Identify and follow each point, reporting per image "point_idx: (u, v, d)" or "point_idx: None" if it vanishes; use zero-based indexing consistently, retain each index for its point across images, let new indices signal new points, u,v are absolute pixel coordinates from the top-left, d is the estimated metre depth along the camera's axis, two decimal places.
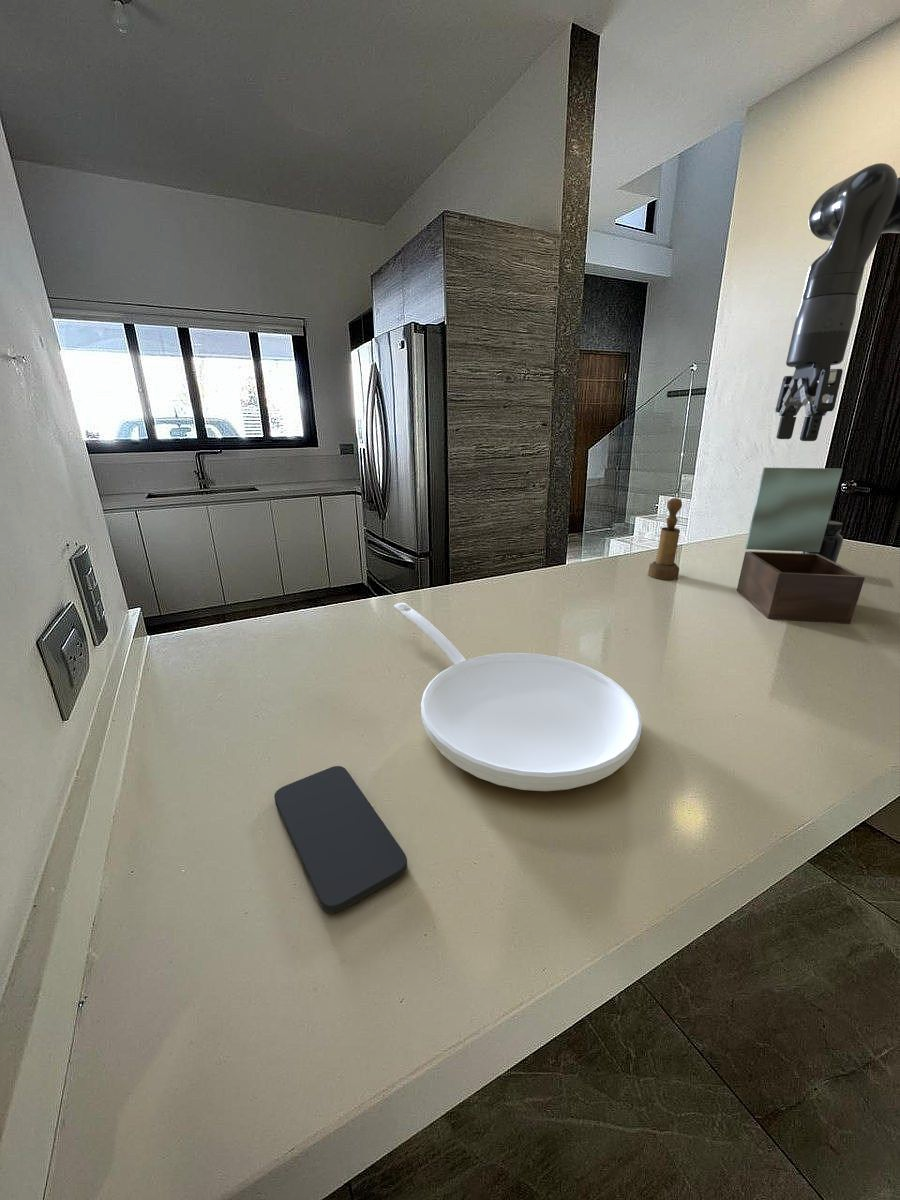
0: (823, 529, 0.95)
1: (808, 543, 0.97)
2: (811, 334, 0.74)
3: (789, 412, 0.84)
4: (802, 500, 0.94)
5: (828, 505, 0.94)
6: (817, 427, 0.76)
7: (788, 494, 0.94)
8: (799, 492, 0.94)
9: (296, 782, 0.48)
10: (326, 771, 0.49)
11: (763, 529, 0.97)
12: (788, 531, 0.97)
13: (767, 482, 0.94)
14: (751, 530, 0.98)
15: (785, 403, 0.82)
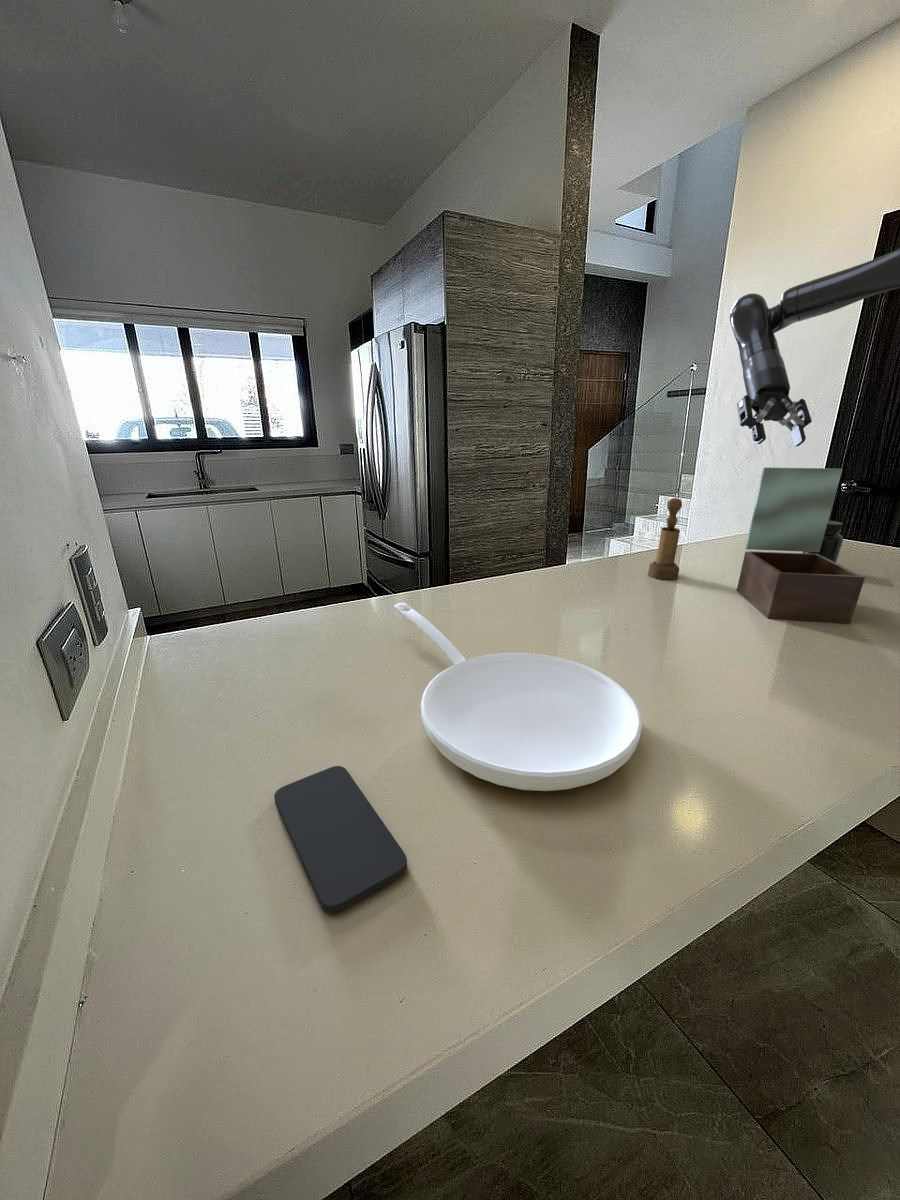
0: (823, 529, 0.95)
1: (808, 543, 0.97)
2: None
3: (794, 426, 1.00)
4: (802, 500, 0.94)
5: (828, 505, 0.94)
6: (755, 431, 0.98)
7: (788, 494, 0.94)
8: (799, 492, 0.94)
9: (296, 782, 0.48)
10: (326, 771, 0.49)
11: (763, 529, 0.97)
12: (788, 531, 0.97)
13: (767, 482, 0.94)
14: (751, 530, 0.98)
15: (782, 424, 1.02)
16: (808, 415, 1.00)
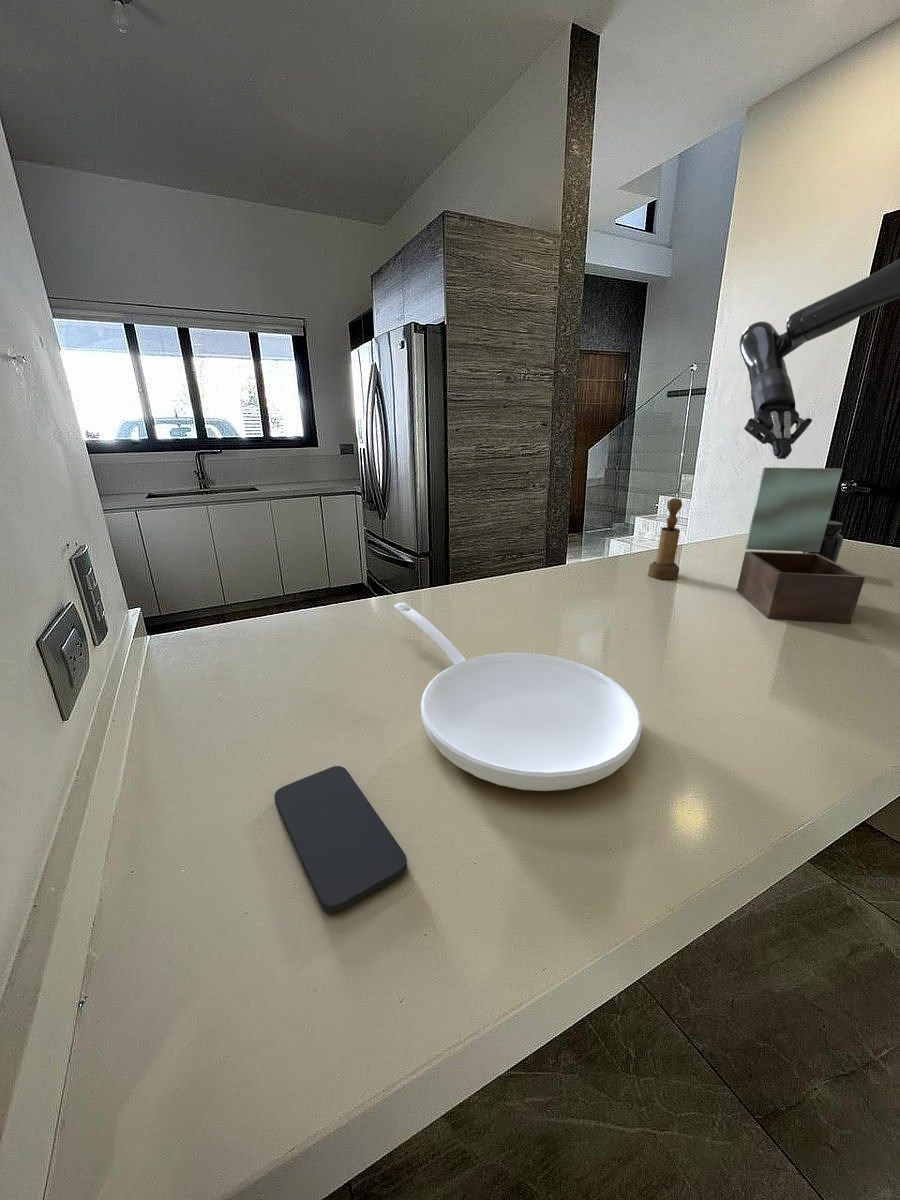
0: (823, 529, 0.95)
1: (808, 543, 0.97)
2: None
3: None
4: (802, 500, 0.94)
5: (828, 505, 0.94)
6: (775, 447, 1.01)
7: (788, 494, 0.94)
8: (799, 492, 0.94)
9: (296, 782, 0.48)
10: (326, 771, 0.49)
11: (763, 529, 0.97)
12: (788, 531, 0.97)
13: (767, 482, 0.94)
14: (751, 530, 0.98)
15: None
16: (800, 430, 1.01)
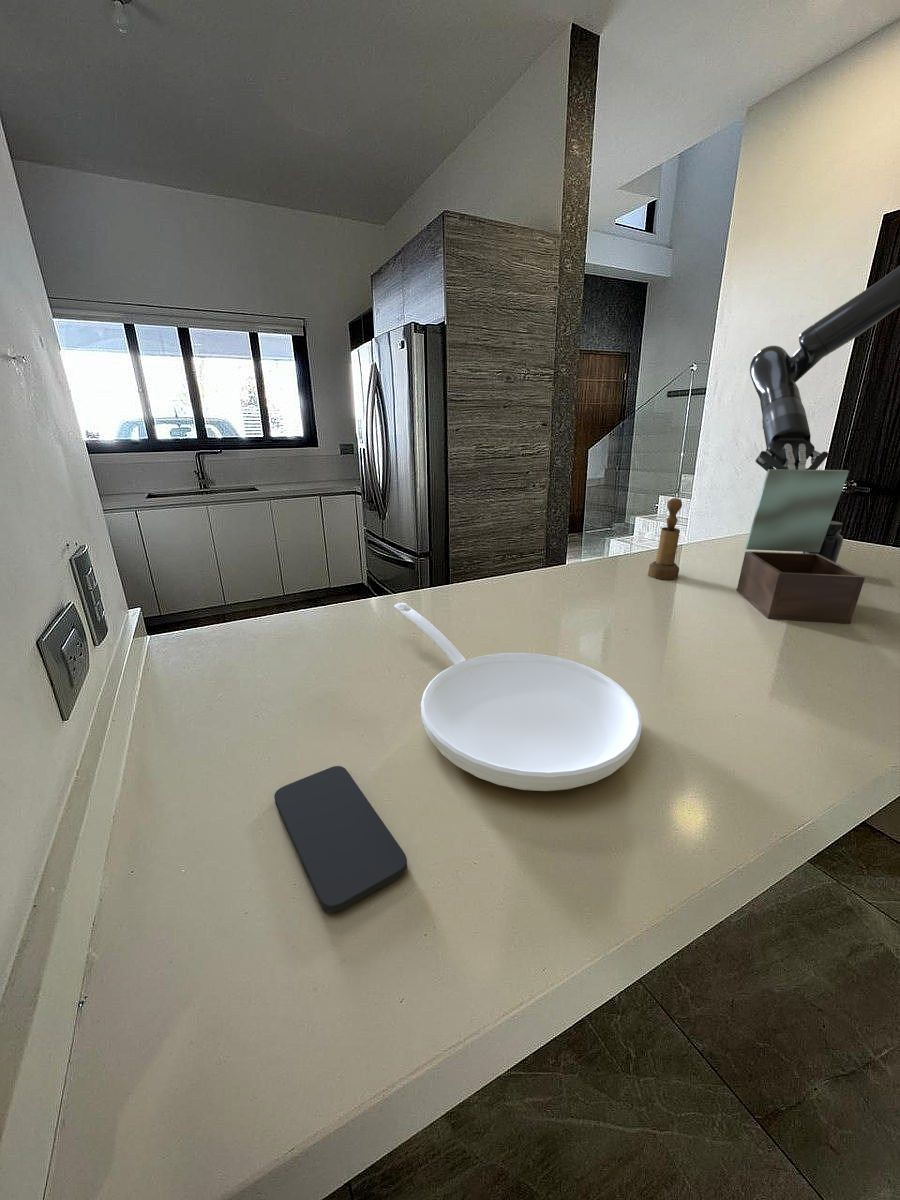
0: (825, 530, 0.95)
1: (808, 544, 0.96)
2: None
3: None
4: (806, 502, 0.93)
5: (832, 506, 0.92)
6: None
7: (791, 496, 0.93)
8: (802, 494, 0.92)
9: (296, 782, 0.48)
10: (326, 771, 0.49)
11: (764, 530, 0.97)
12: (789, 532, 0.96)
13: (771, 484, 0.93)
14: (752, 531, 0.97)
15: None
16: (816, 465, 0.94)
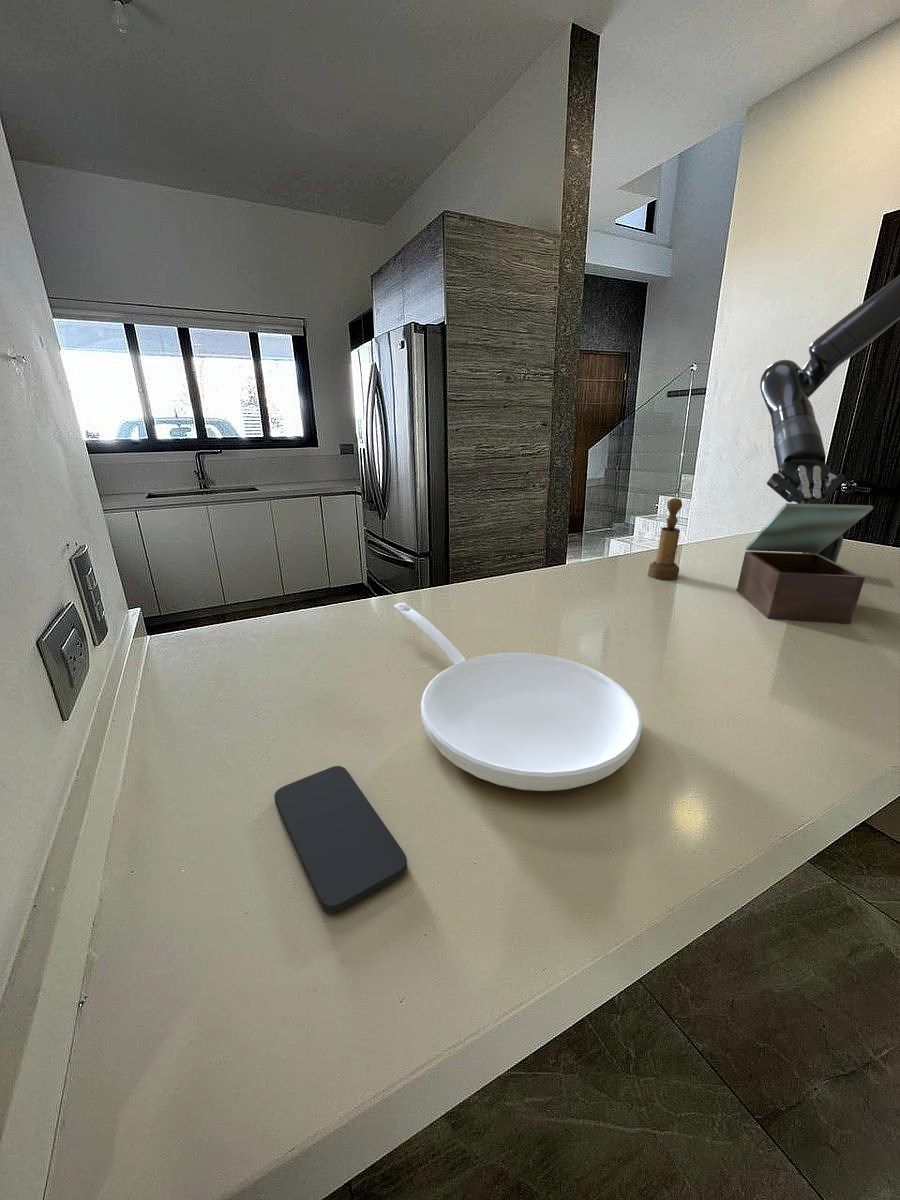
0: (830, 541, 0.93)
1: (810, 548, 0.96)
2: None
3: None
4: (817, 526, 0.89)
5: (844, 529, 0.88)
6: None
7: (804, 522, 0.88)
8: (816, 521, 0.87)
9: (296, 782, 0.48)
10: (326, 771, 0.49)
11: (767, 541, 0.95)
12: (792, 542, 0.95)
13: (784, 515, 0.87)
14: (755, 540, 0.96)
15: None
16: (832, 489, 0.89)
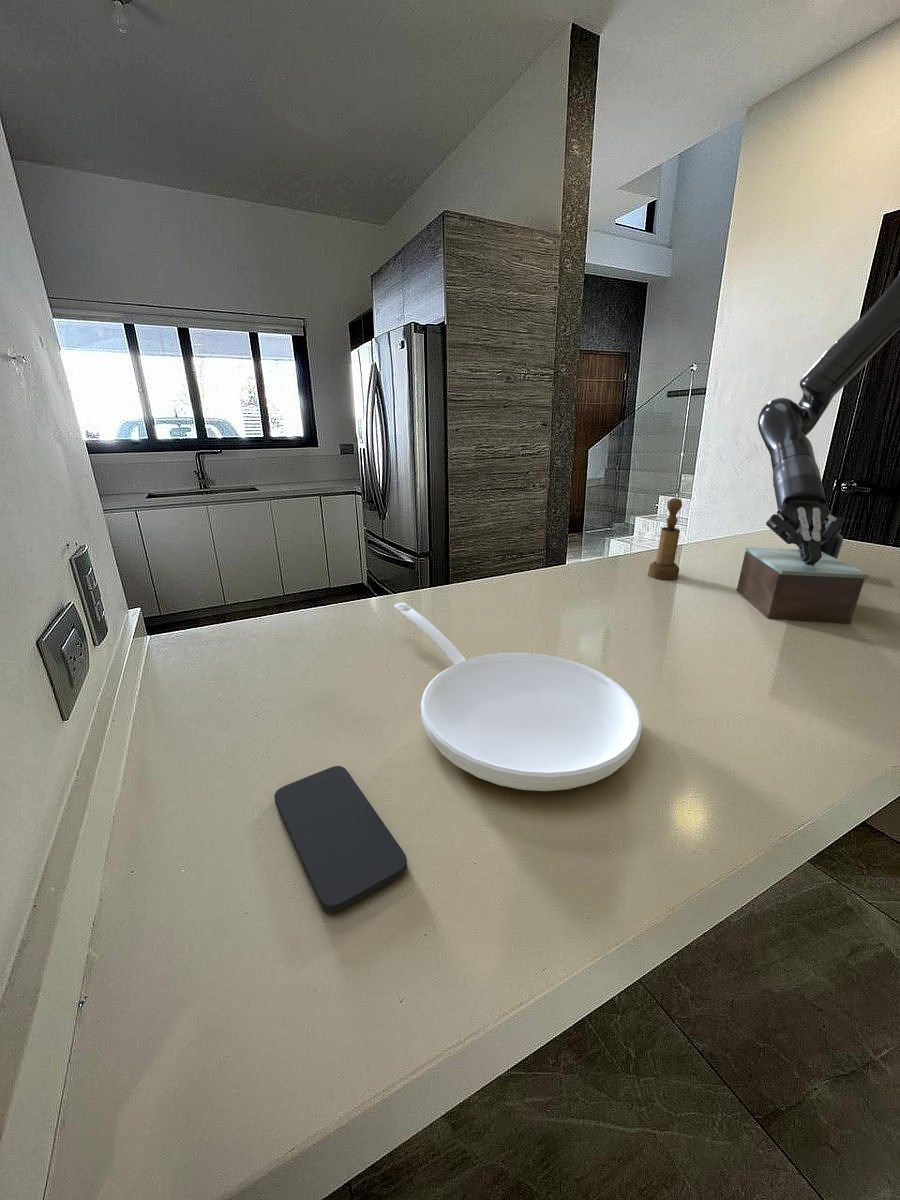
0: None
1: None
2: None
3: (809, 541, 0.89)
4: None
5: None
6: (803, 550, 0.88)
7: None
8: None
9: (296, 782, 0.48)
10: (326, 771, 0.49)
11: None
12: None
13: None
14: (754, 555, 0.96)
15: None
16: (832, 532, 0.88)
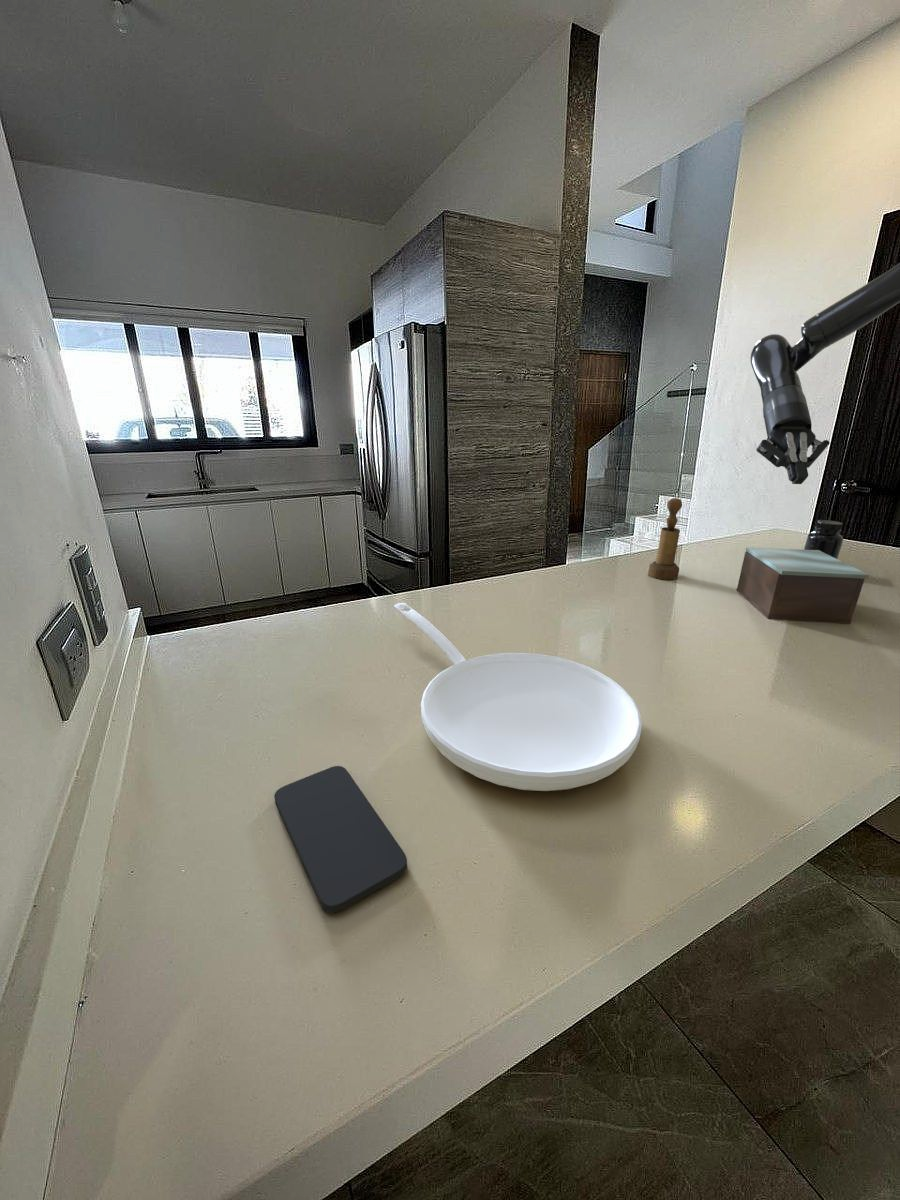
0: None
1: None
2: None
3: None
4: None
5: None
6: (790, 471, 0.94)
7: None
8: None
9: (296, 782, 0.48)
10: (326, 771, 0.49)
11: None
12: None
13: None
14: (754, 555, 0.96)
15: None
16: (817, 454, 0.94)
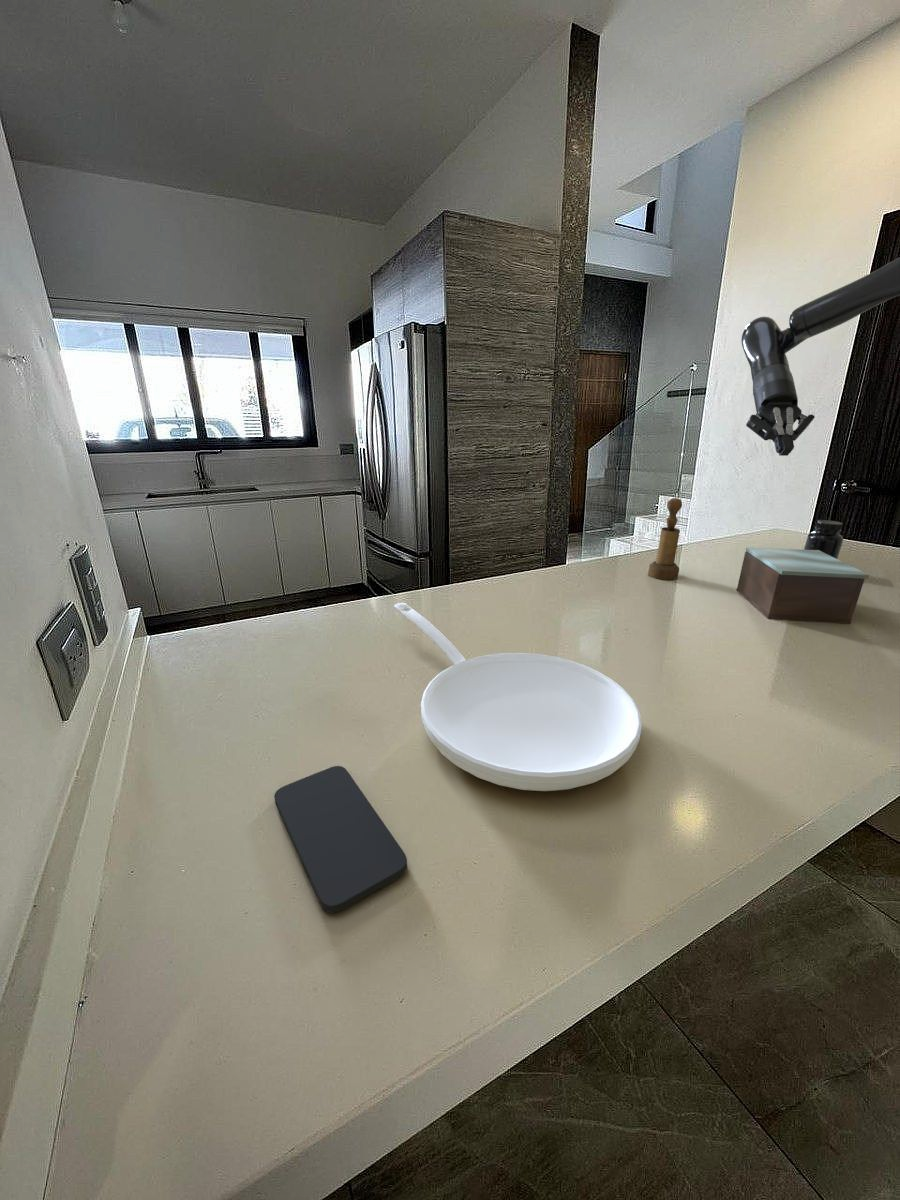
0: None
1: None
2: None
3: None
4: None
5: None
6: (777, 443, 1.00)
7: None
8: None
9: (296, 782, 0.48)
10: (326, 771, 0.49)
11: None
12: None
13: None
14: (754, 555, 0.96)
15: None
16: (803, 427, 1.00)
